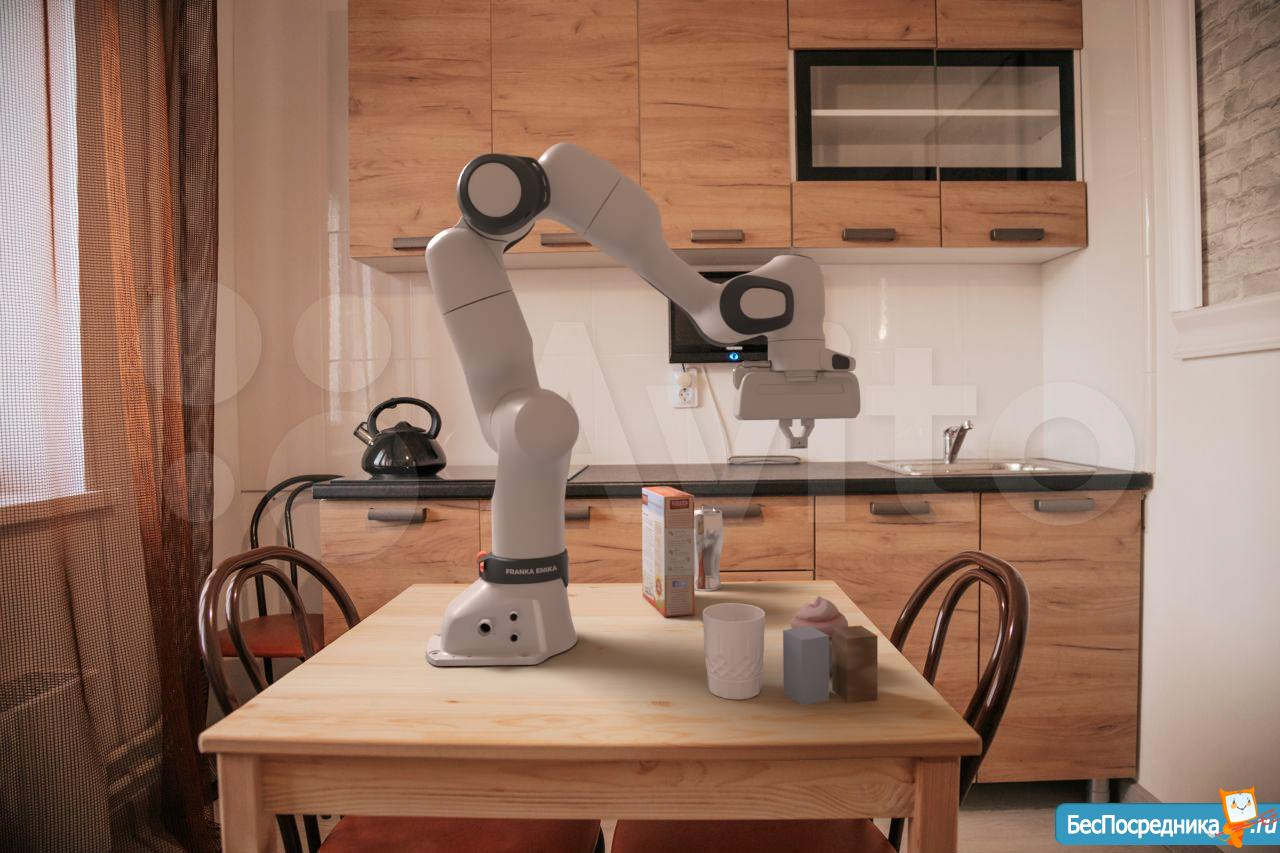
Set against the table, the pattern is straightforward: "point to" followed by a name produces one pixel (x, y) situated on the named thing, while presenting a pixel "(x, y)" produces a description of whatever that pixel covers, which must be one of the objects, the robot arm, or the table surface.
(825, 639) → the slate-blue block
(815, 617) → the cupcake
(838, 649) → the walnut block
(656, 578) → the cracker box
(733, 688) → the white cup
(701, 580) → the beer glass
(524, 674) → the table surface
